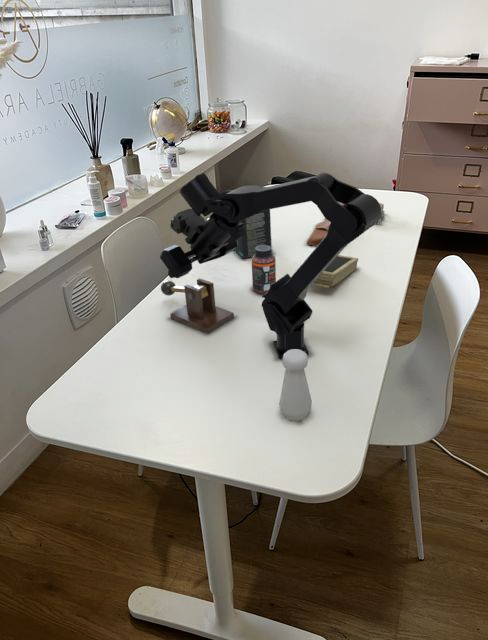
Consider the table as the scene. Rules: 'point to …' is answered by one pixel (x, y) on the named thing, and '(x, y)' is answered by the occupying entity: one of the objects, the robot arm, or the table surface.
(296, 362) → the salt shaker
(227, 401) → the table surface
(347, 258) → the box
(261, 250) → the supplement bottle
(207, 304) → the switch bracket
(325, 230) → the sunglasses case
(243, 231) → the robot arm
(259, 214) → the tampon box
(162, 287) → the lever
